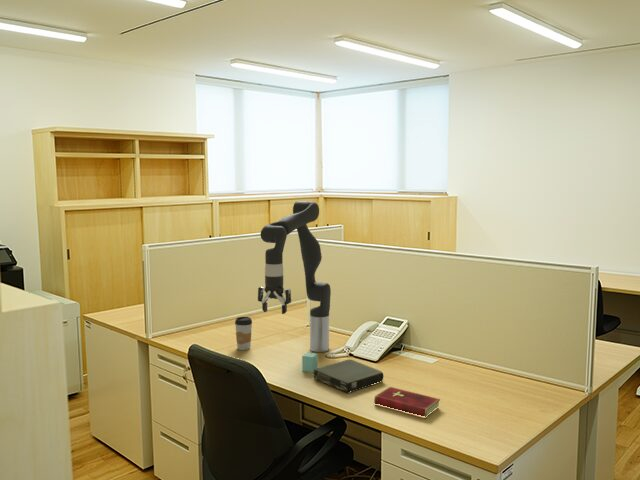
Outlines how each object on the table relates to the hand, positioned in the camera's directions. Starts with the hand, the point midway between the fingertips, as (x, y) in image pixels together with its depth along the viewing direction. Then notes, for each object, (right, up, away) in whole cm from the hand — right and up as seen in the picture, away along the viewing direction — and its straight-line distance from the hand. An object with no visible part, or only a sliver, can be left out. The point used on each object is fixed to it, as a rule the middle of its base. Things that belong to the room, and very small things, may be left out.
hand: (274, 312), depth 239 cm
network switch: (+31, -29, +2) cm, 42 cm away
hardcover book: (+51, -33, -24) cm, 65 cm away
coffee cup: (-18, -23, +44) cm, 53 cm away
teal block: (+15, -27, +14) cm, 34 cm away
